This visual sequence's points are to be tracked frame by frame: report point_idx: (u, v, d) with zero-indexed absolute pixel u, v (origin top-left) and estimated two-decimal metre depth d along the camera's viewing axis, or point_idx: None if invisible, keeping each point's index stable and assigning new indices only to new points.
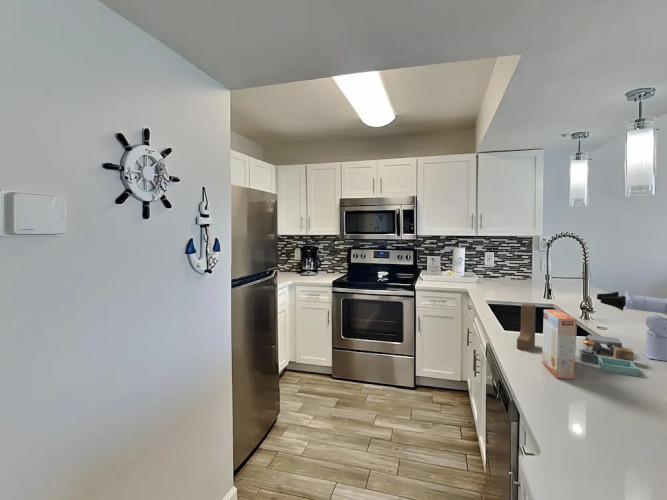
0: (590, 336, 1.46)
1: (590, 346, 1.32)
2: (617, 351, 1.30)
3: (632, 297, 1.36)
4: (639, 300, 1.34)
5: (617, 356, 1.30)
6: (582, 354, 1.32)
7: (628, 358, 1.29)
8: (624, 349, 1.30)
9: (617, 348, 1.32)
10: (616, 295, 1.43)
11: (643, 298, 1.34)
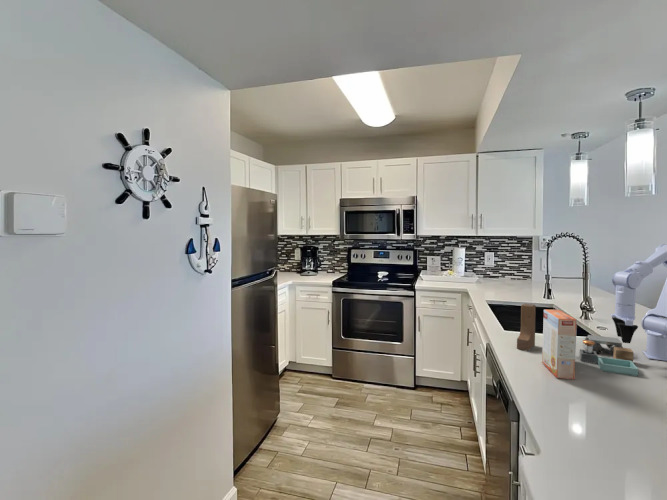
0: (590, 336, 1.46)
1: (590, 346, 1.32)
2: (617, 351, 1.30)
3: (618, 313, 1.29)
4: (621, 308, 1.28)
5: (617, 356, 1.30)
6: (582, 354, 1.32)
7: (628, 358, 1.29)
8: (624, 349, 1.30)
9: (617, 348, 1.32)
10: (617, 320, 1.34)
11: (618, 304, 1.29)
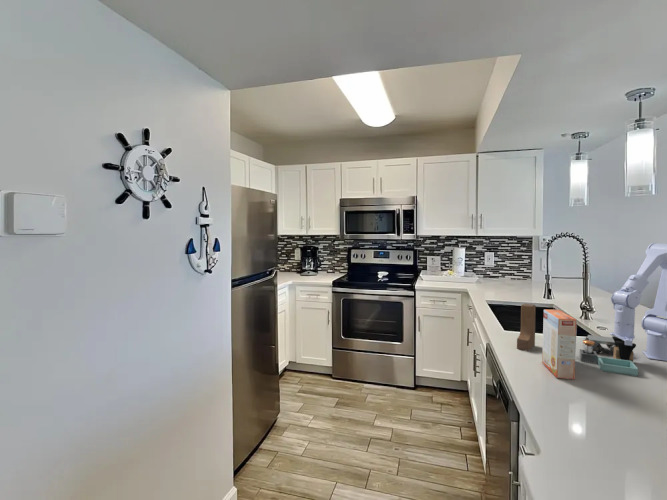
0: (590, 336, 1.46)
1: (590, 346, 1.32)
2: (617, 351, 1.30)
3: (617, 332, 1.30)
4: (620, 328, 1.29)
5: (617, 356, 1.30)
6: (582, 354, 1.32)
7: None
8: None
9: (617, 348, 1.32)
10: (617, 339, 1.33)
11: (617, 323, 1.30)
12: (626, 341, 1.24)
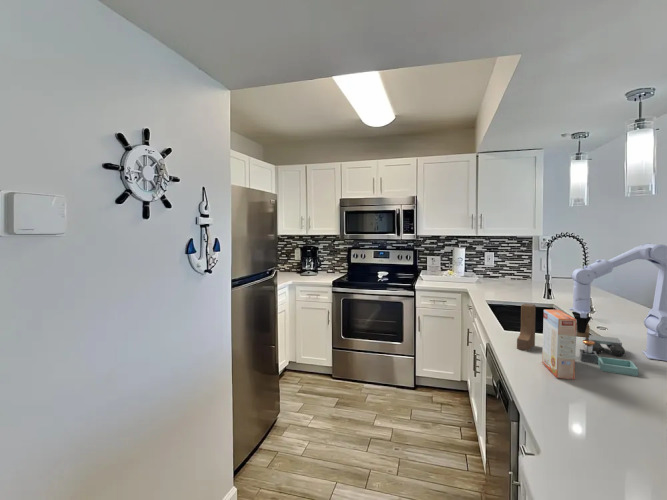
0: (590, 336, 1.46)
1: (590, 346, 1.32)
2: None
3: (575, 307, 1.41)
4: (578, 302, 1.40)
5: None
6: (582, 354, 1.32)
7: (585, 331, 1.40)
8: None
9: None
10: (576, 314, 1.44)
11: (575, 299, 1.41)
12: (581, 314, 1.36)
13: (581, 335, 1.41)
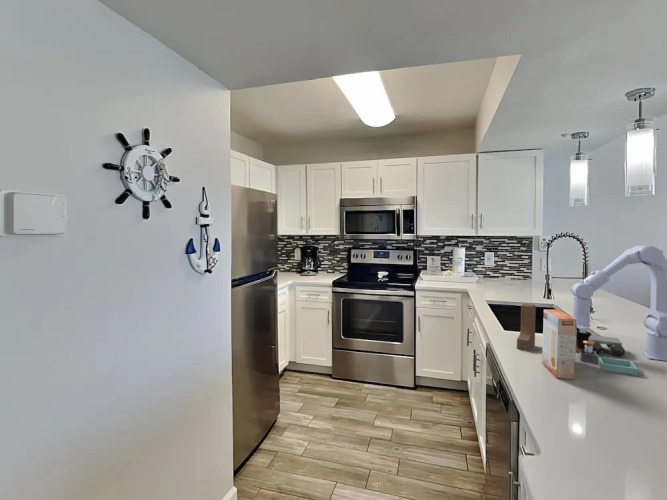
0: (590, 336, 1.46)
1: (590, 346, 1.32)
2: None
3: None
4: (577, 317, 1.40)
5: None
6: (582, 354, 1.32)
7: None
8: None
9: None
10: None
11: (574, 313, 1.41)
12: (581, 329, 1.36)
13: None
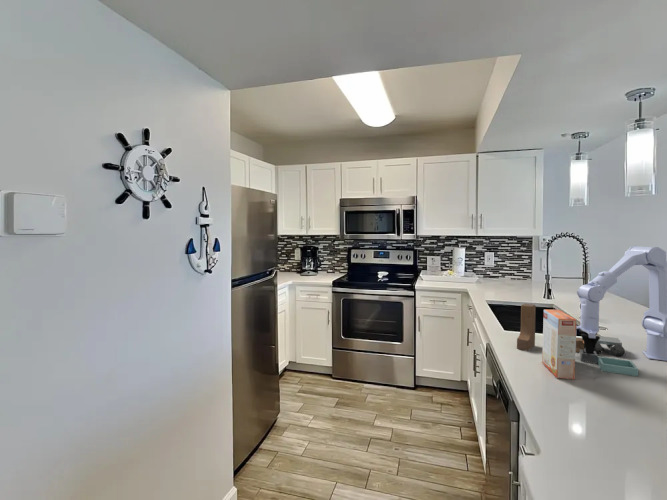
0: None
1: None
2: None
3: (582, 325, 1.32)
4: (585, 321, 1.31)
5: None
6: (582, 354, 1.32)
7: None
8: None
9: None
10: (583, 333, 1.35)
11: (582, 317, 1.32)
12: (590, 334, 1.27)
13: None
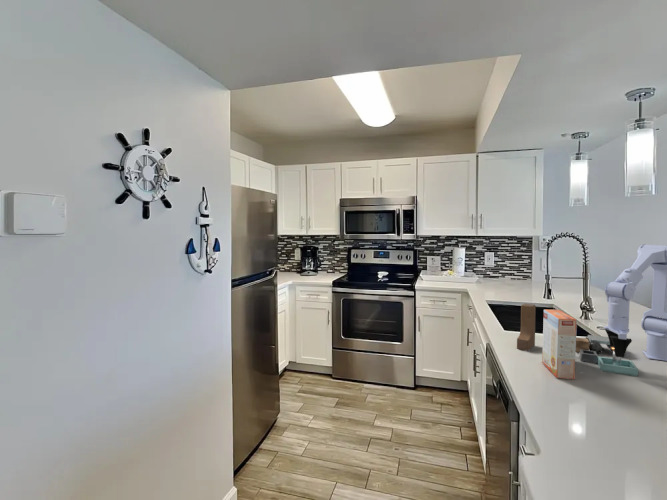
0: (590, 336, 1.46)
1: None
2: None
3: (611, 326, 1.23)
4: (614, 321, 1.22)
5: None
6: (582, 354, 1.32)
7: (584, 347, 1.40)
8: (582, 339, 1.42)
9: None
10: (610, 332, 1.28)
11: (611, 316, 1.23)
12: (620, 335, 1.18)
13: None
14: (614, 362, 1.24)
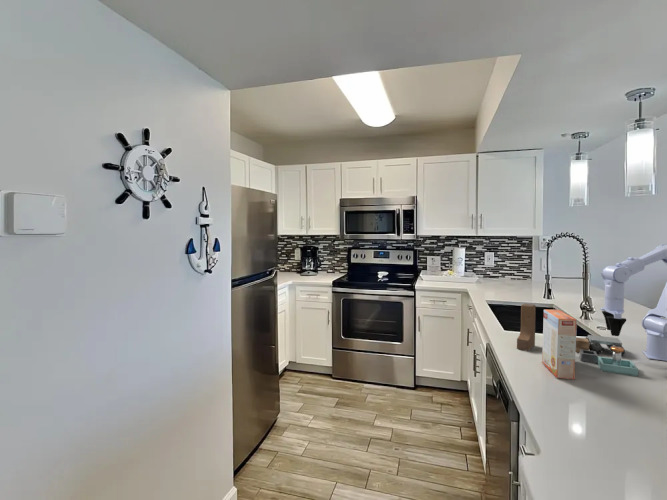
0: (590, 336, 1.46)
1: (619, 353, 1.23)
2: None
3: (607, 307, 1.32)
4: (610, 302, 1.31)
5: None
6: (582, 354, 1.32)
7: (584, 347, 1.40)
8: (582, 339, 1.42)
9: None
10: (606, 314, 1.37)
11: (607, 298, 1.32)
12: (615, 314, 1.26)
13: None
14: (614, 362, 1.24)
